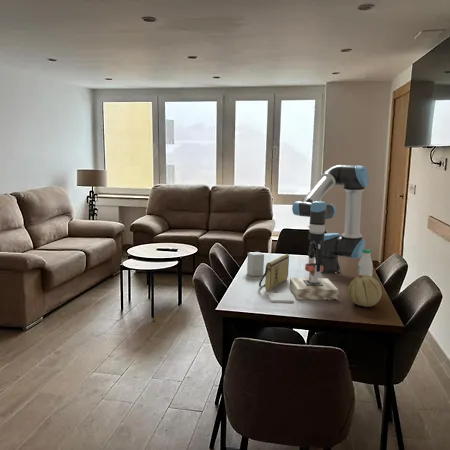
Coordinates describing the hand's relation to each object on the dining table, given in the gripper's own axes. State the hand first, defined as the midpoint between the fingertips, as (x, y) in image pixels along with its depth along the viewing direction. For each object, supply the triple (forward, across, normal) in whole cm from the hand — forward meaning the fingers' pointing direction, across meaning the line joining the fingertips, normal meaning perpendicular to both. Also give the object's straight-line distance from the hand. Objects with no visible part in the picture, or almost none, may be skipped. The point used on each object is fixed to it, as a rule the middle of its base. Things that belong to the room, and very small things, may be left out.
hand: (313, 274), depth 218 cm
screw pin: (+10, 0, 0) cm, 10 cm away
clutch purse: (+10, -14, -18) cm, 25 cm away
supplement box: (+10, -33, -26) cm, 43 cm away
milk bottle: (+10, -16, +32) cm, 37 cm away
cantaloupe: (+10, +18, +20) cm, 29 cm away
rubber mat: (+10, +10, -18) cm, 23 cm away
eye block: (+10, 0, 0) cm, 10 cm away
